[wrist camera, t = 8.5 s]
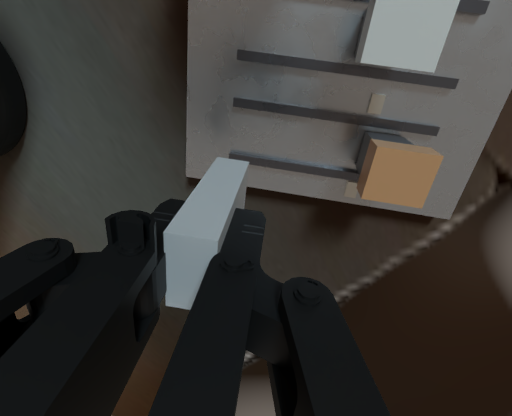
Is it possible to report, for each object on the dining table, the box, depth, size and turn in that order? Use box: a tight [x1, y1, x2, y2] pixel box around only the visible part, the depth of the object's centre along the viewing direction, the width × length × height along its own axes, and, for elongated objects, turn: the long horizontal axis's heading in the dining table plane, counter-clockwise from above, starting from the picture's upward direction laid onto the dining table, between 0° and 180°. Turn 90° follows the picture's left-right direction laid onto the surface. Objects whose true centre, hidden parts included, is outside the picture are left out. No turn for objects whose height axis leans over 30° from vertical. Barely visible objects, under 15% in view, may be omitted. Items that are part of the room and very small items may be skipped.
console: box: [186, 0, 512, 219], centre depth 24 cm, size 24×18×3 cm
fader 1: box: [354, 0, 460, 73], centre depth 18 cm, size 4×4×6 cm
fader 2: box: [356, 131, 444, 209], centre depth 22 cm, size 4×4×6 cm
